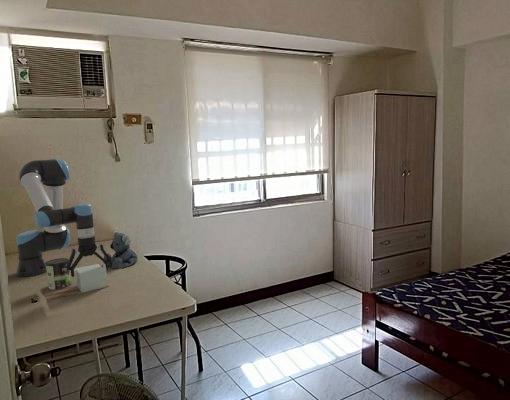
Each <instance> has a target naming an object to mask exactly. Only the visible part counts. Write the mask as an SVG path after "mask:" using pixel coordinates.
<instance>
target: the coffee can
mask: <svg viewBox="0 0 510 400" xmlns="http://www.w3.org/2000/svg"><path fill="white" fill-rule="evenodd" d="M68 261H69V258H67V257H65V258H63V257H60V258H59V257H58V258H53V259H49V260H47V261H45V264H46V270H47V271H46V277H47V286H48V289H50V290H59V289H64V288H69V286H70V287H71V285H72V281H71V280H72V279H71V270H67V269H66V266H67V263H68Z"/></svg>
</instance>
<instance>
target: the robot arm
mask: <svg viewBox="0 0 510 400" xmlns="http://www.w3.org/2000/svg"><path fill="white" fill-rule="evenodd" d="M70 175H71V174H70V170H69V166H68V164H67V162H66V161H65V160H64V159H62V158H61V159H60V158H59V159H58V158H54V159H40V160H38V159H36V160H31V161H28V162H26V163H25V164H24V165H23V166H22V167H21V169H20V171H19V174H18V179H19V182H20V184H21V186H22V187H24V188H25V190H26V192H27V195H28V196H29V199H30V201H31V203H32V205H33V208H34V209H35V211H36V212H35V213H34V224H35V226H36V227H37V228H40V229H41V228H43V231H40V230H39V229H32V230H31V229H30V230H28V231H24V232H22V233H19V234H18V235H17V236H16V237H15V238H16V246H17V247H16V248H17V254H18V255H17V256H18V263H17V268H16V275H17V277H22V278H23V277H33V276H37V275H41V274H44V273H45V272H46V273H47V270H46V264H45V263H46V261H45V260H44V257H43V253H45V252H52V251H57V250H62V249H65V248H68V246H69V245H70V243H71V242H70V241H71V235H70V234H71V233H70V229H69V228H68V227H67V226H66V225H69V224H75V225H76V232H77V235H76V236H77V242H78V243H77V245H78V248H74V247H73V248H71V254H70V256H69V258H68V259H69V261H68V263H67V266H66V269H67V270H70V277H71V278H73V281H74V284H75V285H77V278H76V270H75V268H77V265H79V263H80V261H81V260H82V258H83V257H90V256H91V257H92V256H93V255H95V256H96V257H97V258H98V259H99V260H101V261H102V262H104V263H102V267H103V268H104V271H105V278H107V277H108V275H107V271H108V270H109V266H108V263H109V262H111V259H110V257H109V256H108V255H107V254H108V253H107V252H106V250H105V249H104V245H103V244H102V243H98V244H96V236H95V228H94V227H95V226H94V216H93V208H92V204H90V203H81V204H76V205H75V206H71V207H66V208H64V186H66V183H67V182H66V181H68V180H70ZM97 249H98V250H100V251H101V253H102V254H103V256H102V255H100V254H99V253H98V252H96V251H97ZM78 252H79V254H78V256H77V257H76V259H75V256H76V254H77V253H78ZM104 256H105V257H106V259H107V260H105V259H104ZM74 259H75V260H74Z"/></svg>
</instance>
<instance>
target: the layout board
mask: <svg viewBox="0 0 510 400" xmlns="http://www.w3.org/2000/svg"><path fill="white" fill-rule="evenodd" d="M107 288H110V285H109V284H107V283H106V287H104V288H100V289H95V290H91V291H86V292H81V291H80V290H79V288H78V287H77V285H74V286H70V287H69V286H68V287H65V288H62V289H54V290H50V291H46V292H43V295H44V297H45V299H46V301H47V302H49V301H50V302H51V301H54V300H57V299H62V298H67V297H71V296H76V295H81V294H85V293H89V292H93V291H98V290H102V289H107Z"/></svg>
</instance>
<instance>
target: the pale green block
mask: <svg viewBox="0 0 510 400" xmlns="http://www.w3.org/2000/svg"><path fill="white" fill-rule="evenodd" d="M75 270H76V278H77V284H76V286H77V287H78V288H79V290H80V291H81V292H85V293H87V292H86V291H90V292H92V291H91V290H94V291H96V290H95V289H99V290H101V289H100V288H103V289H105V288H104V287H106V284H107V281H106V277H105V271H104V268H103V266H102V265H100V264H99V263H96V264H90V265H87V266H86V265H85V266H81V267H75Z"/></svg>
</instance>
